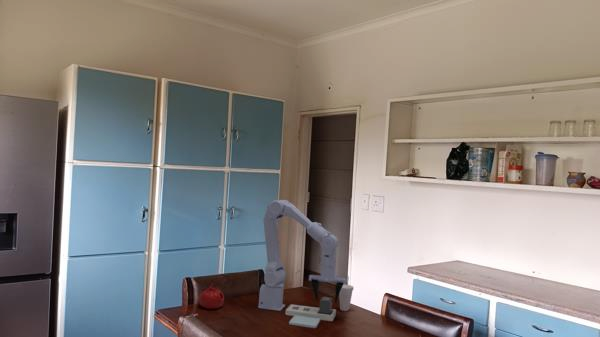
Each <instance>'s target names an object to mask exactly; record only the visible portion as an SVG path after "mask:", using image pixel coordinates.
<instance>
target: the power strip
mask: <svg viewBox="0 0 600 337" xmlns="http://www.w3.org/2000/svg"><path fill="white" fill-rule="evenodd" d="M319 309H320V307H315V306H307V305H298V304H292V303H291V304H290V305H288V307H286V309H285V315H286V316H291V317H294V315H298V316H305V317H313V318H320V321H328V322H334V319H335V317H336V314H337V309H333V308H332V312H331V315H326V314H319Z"/></svg>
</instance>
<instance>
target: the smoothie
mask: <svg viewBox="0 0 600 337" xmlns="http://www.w3.org/2000/svg"><path fill="white" fill-rule="evenodd" d="M353 291H354V286H353V285H350V284H349V275H347V276H346V285H345V284H343V286H342V288H341V290H340V293H339V296H338V299H339V309H340V311H344V312H348V310H350V306H351V303H352V302H351V301H352V296H353Z"/></svg>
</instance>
